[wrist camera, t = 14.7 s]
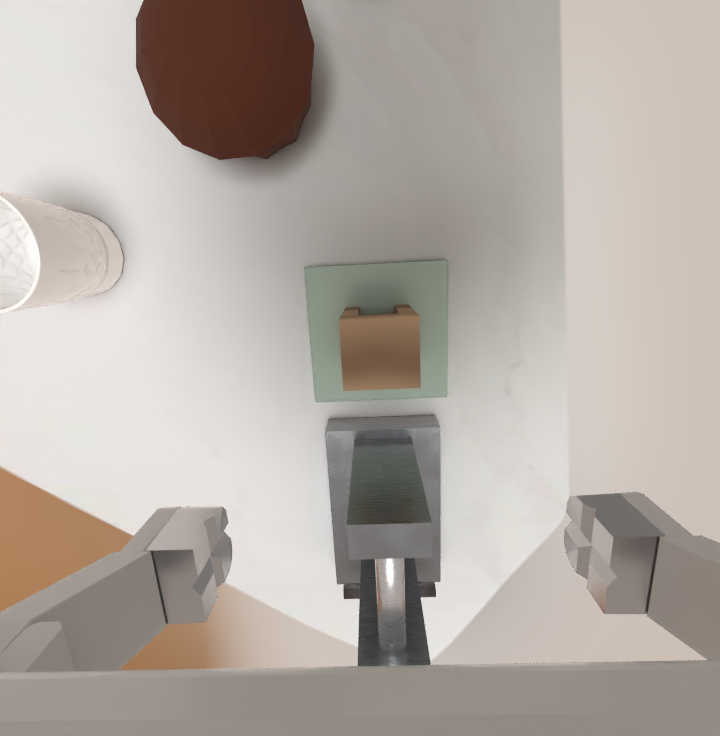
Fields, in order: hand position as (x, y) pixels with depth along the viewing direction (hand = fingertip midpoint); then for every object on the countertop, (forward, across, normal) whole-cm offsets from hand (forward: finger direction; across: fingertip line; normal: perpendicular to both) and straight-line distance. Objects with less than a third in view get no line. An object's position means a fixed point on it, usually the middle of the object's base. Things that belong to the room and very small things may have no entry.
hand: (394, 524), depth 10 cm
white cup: (+27, +25, -8) cm, 38 cm away
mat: (+27, 0, 0) cm, 27 cm away
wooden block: (+26, 0, 0) cm, 26 cm away
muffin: (+27, +9, -19) cm, 35 cm away
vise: (+27, 0, +16) cm, 31 cm away
